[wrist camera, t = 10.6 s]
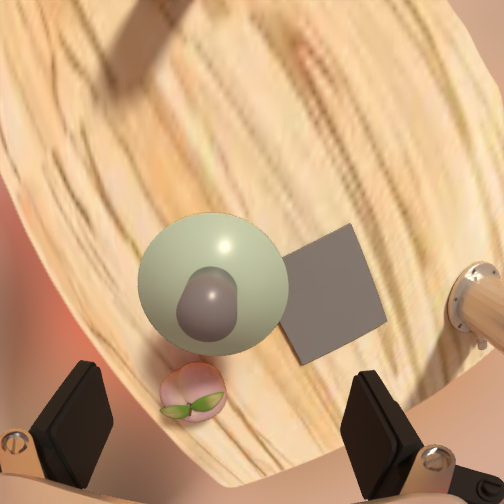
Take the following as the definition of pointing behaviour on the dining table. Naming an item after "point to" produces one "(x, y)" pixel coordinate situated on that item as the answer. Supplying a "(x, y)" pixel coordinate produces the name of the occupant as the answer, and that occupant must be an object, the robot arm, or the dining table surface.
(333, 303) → the mat
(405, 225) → the dining table surface
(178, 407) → the decorative fruit
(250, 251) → the lid
